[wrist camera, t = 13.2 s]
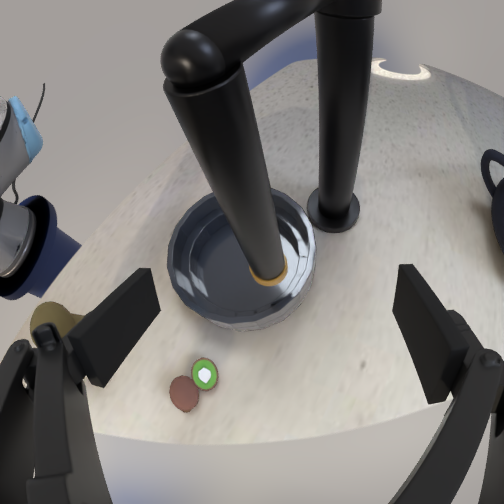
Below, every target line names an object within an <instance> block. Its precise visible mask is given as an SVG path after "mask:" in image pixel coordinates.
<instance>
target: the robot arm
mask: <svg viewBox="0 0 504 504" xmlns="http://www.w3.org/2000/svg"><path fill="white" fill-rule="evenodd" d="M44 91H45V83H44V84H43V93H42V97H41V100H40V103H39V106H38V108H37V110H36V113H35V115H34V118H33V120H32V119H31V118H30V116H29V114H28V113H27V111H26V110H25V108H24V106H23V105H22V103H21V101H20V100H19V99H18V98H17V97H16V96H14V97H13V98H10V99H9V101H8V102H7V101H6V100H5V99H4V98H2V97H1V96H0V276H1V277H3V278H9V277H11V276H13V275H14V274H15V273H16V272H17V271H18V270H19V269H20V268H21V267H22V265H23V264H24V262H25V261H26V259H27V257H28V255H29V253H30V251H31V248H32V246H33V243H34V240H35V236H36V231H37V218H36V215H35V213H34V212H33V211H31V210H30V209H29V208H27V207H25V206H19V205H17V203H18V199H19V196H18V193H17V191H16V189H15V180H16V178H17V177H18V175H20V173H21V172H22V171H23V170H24V169H25V168H26V167H27V166H28V165H29V164H30V163H31V162H32V160H33V158H34V157H35V156H36V155H37V154H38V153H39V151H40V150H41V148H42V145H43V140H42V137H41V135H40V133H39V131H38V130H37V128H36V126H35V125H34V121H35V118H36V116H37V113H38V111H39V109H40V106H41V103H42V100H43V97H44ZM11 184H12V189H13V192H14V194H15V197H16V198H15V202H14V203H11V202H7V201H5V200H3V199H2V198H1V196H2V194H3V193H4V192H5V191H6V190H7V188H8V187H9V186H10V185H11ZM160 311H161V309H160V305H159V302H158V298H157V294H156V290H155V286H154V281H153V277H152V273H151V269H150V268H139V269H138V270H136V271H135V272H134V273H133V274H132V275H131V276H130V277H129V278H127V279H126V280H125V281H124V282H123V283H122V284H121V285H120V286H119V287H118V288H116V289H115V290H114V291H113V292H112V293H111V294H110V295H109V296H108V297H107V298H106V299H105V300H103V301H102V302H101V303H100V304H99V305H98V306H97V307H96V308H95V309H94V310H93V311H91V312H89V313H88V314H86V315H85V316H84V317H83V318H82V320H80V321H79V322H78V323H77V325H75V326H74V327H73V328H72V329H71V330H70V331H69V332H68V333H67V334H66V335H65V336H64V337H63V338H61V336H60V334H59V332H58V329H57V327H56V325H55V324H54V323H53V322H47V323H43V324H41V325H39V326H37V327H36V328H35V329H34V330H33V331H32V333H31V335H32V337H33V339H34V341H35V343H36V345H37V347H38V348H32V347H31V345H30V343H29V341H28V340H26V339H22V340H17V341H15V342H14V343H13V344H12V345H11V346H10V347H9V349H8V351H7V353H6V355H5V356H4V358H3V360H2V362H1V364H0V504H113V503H112V500H111V498H110V494H109V491H108V488H107V484H106V481H105V478H104V474H103V471H102V467H101V463H100V460H99V455H98V451H97V447H96V443H95V438H94V434H93V429H92V424H91V418H90V413H89V407H88V400H87V393H86V386H85V383H84V381H83V378H84V377H85V376H86V375H87V377H88V379H89V381H90V383H91V384H92V385H95V386H99V387H102V388H104V387H105V386H106V384H107V383H108V382H109V380H110V379H111V377H112V376H113V375H114V373H115V372H116V370H117V369H118V368H119V366H120V365H121V364H122V362H123V361H124V359H125V358H126V357H127V355H128V354H129V353H130V351H131V350H132V349H133V347H134V346H135V344H136V343H137V342H138V340H139V339H140V338H141V336H142V335H143V334H144V332H145V331H146V330H147V328H148V327H149V326H150V324H151V323H152V322H153V320H154V319H155V318H156V316H157V315H158V314H159V312H160ZM392 312H393V314H394V316H395V319H396V321H397V323H398V326H399V328H400V330H401V333H402V335H403V337H404V340H405V342H406V345H407V347H408V350H409V352H410V355H411V357H412V360H413V363H414V365H415V368H416V371H417V373H418V376H419V379H420V382H421V384H422V387H423V390H424V393H425V396H426V399H427V402H428V404H434V403H439V402H444V401H446V399H447V397H448V395H449V393H450V391H451V393H452V395H453V400H452V402H451V404H450V406H449V408H448V409H447V411H446V413H445V415H444V418H443V420H442V422H441V424H440V426H439V428H438V430H437V431H436V433H435V435H434V437H433V439H432V440H431V442H430V444H429V445H428V447H427V449H426V450H425V452H424V454H423V455H422V457H421V458H420V460H419V462H418V463H417V465H416V466H415V468H414V469H413V471H412V472H411V474H410V475H409V476H408V478H407V480H406V481H405V482H404V484H403V485H402V486H401V488H400V489H399V490H398V492H397V493H396V494H395V496H394V497H393V498H392V500H391V501H390V502H389V503H388V504H451V502H452V500H453V499H454V497H455V495H456V493H457V491H458V490H459V488H460V486H461V484H462V482H463V480H464V478H465V476H466V474H467V472H468V470H469V467H470V465H471V463H472V461H473V459H474V456H475V454H476V452H477V449H478V447H479V444H480V442H481V439H482V436H483V434H484V431H485V428H486V425H487V423H488V420H489V417H490V413H491V415H492V416H491V429H490V440H489V448H488V456H487V463H486V469H485V475H484V480H483V485H482V490H481V494H480V498H479V502H478V504H504V361H503V359H502V357H501V356H500V355H499V354H498V353H497V352H495V351H493V350H491V349H484V348H483V346H482V345H481V343H480V342H479V340H478V339H477V337H476V336H475V334H474V333H473V331H472V330H471V328H470V327H469V325H468V324H467V322H466V321H465V320H464V318H463V317H462V316H461V315H460V314H459V313H457V312H456V311H454V310H446V309H445V307H444V306H443V305H442V303H441V302H440V300H439V299H438V297H437V296H436V295H435V293H434V292H433V291H432V289H431V288H430V286H429V285H428V284H427V282H426V281H425V280H424V278H423V277H422V276H421V274H420V273H419V272H418V270H417V269H416V268H415V267H414V265H413V264H400V265H399V270H398V278H397V285H396V292H395V298H394V304H393V310H392ZM23 379H24V380H25V382H26V384H27V387H26V388H25V387H24V386H23V384H22V380H23ZM34 467H35V478H33V473H34Z"/></svg>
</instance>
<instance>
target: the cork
mask: <svg viewBox="0 0 504 504" xmlns="http://www.w3.org/2000/svg"><path fill="white" fill-rule="evenodd" d="M83 317H84V316H82V315H77V314H71V313H70V312H69V311H68V310H67V309H66V308H65V307H64V306H63V305H60V304H58V303H56V302H45V303H42V304H41V305H39V306H38V307H37V308H36V310H35V311H34V313H33V315H32V318H31V322H30V333H32V331H33V330H34V329H35V328H36V327H37V326H39V325H41V324H43V323H47V322H53V323H54V324H55V325H56V327H57V329H58V332H59V334H60V336H61V338H63V337H64V336H65V335H66V334H67V333H68V332H69V331H70V330H71V329H72V328H73V327H74V326H75V325H77V323H78V322H79V321H80V320H82V318H83ZM31 338H32V340H33V342H34V344H35V345H36V343H35V341H34V339H33V337H32V335H31ZM36 346H37V345H36ZM37 348H38V347H37Z"/></svg>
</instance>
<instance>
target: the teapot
mask: <svg viewBox="0 0 504 504" xmlns="http://www.w3.org/2000/svg"><path fill="white" fill-rule="evenodd" d="M491 160H493V161H496V162H498V163H499V164H501V165H502V166H504V155H503V154H502V153H500V152H498V151H496V150H493V149H488V150H486V151H485V152H484V154H483V156H482V159H481V172H482V176H483V179H484V182H485V184H486V187H487V189H488V191H489V192H490V194H491V196H492V198H493V199H492V221H493V227H494V231H495V234H496V237H497V240H498V243H499V245H500V248H501V250H502V252H503V254H504V178H503V179H502V180H501V181H500V182H499V184H498V185H497V187H495V185H494V183H493V181H492V178H491V175H490V171H489V163H490V161H491Z"/></svg>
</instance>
